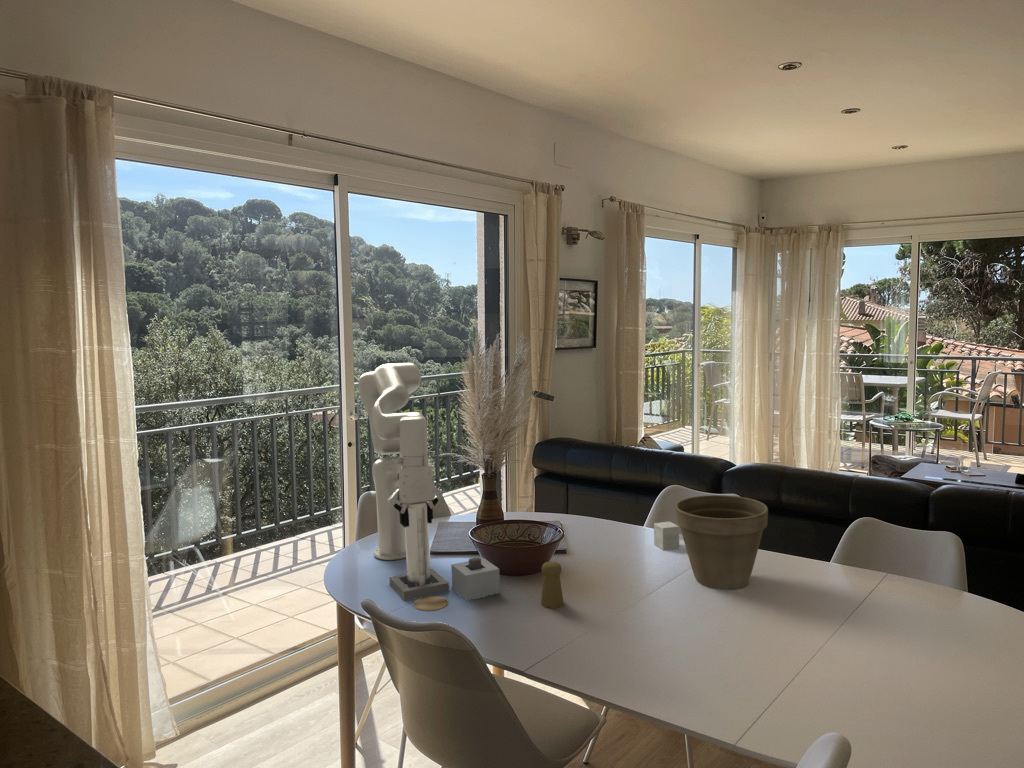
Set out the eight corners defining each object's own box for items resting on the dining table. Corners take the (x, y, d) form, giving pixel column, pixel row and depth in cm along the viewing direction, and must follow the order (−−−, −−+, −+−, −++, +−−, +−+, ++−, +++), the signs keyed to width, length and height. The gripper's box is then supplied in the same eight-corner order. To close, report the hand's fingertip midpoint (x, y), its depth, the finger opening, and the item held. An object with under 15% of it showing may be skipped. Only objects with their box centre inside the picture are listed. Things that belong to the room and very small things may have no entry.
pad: (409, 601, 196) (409, 600, 196) (440, 594, 200) (440, 593, 200) (420, 613, 188) (420, 612, 188) (453, 606, 192) (453, 605, 192)
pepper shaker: (566, 600, 194) (565, 560, 193) (560, 609, 189) (559, 567, 187) (544, 597, 196) (543, 558, 195) (537, 606, 190) (537, 565, 189)
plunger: (467, 573, 202) (466, 559, 202) (478, 570, 204) (477, 557, 203) (472, 577, 199) (471, 562, 199) (483, 574, 201) (483, 560, 200)
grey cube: (653, 544, 238) (653, 523, 237) (670, 542, 240) (670, 521, 239) (662, 550, 232) (662, 528, 231) (679, 548, 234) (679, 526, 233)
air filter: (432, 584, 208) (429, 498, 205) (428, 593, 201) (424, 504, 199) (410, 583, 208) (407, 498, 206) (404, 592, 202) (401, 504, 200)
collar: (389, 585, 208) (389, 576, 208) (432, 576, 214) (432, 568, 213) (404, 600, 196) (404, 591, 196) (449, 591, 202) (448, 582, 202)
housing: (452, 588, 204) (451, 564, 203) (484, 581, 209) (483, 558, 208) (466, 600, 195) (465, 575, 195) (499, 593, 200) (499, 568, 199)
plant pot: (667, 590, 199) (667, 513, 197) (682, 561, 222) (682, 491, 219) (764, 602, 190) (765, 521, 187) (769, 570, 212) (770, 497, 210)
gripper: (388, 467, 194) (390, 532, 196) (448, 459, 202) (450, 522, 204) (379, 462, 201) (382, 525, 203) (438, 455, 209) (440, 516, 210)
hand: (416, 523), depth 203 cm, fingers closed on air filter, 6 cm apart
